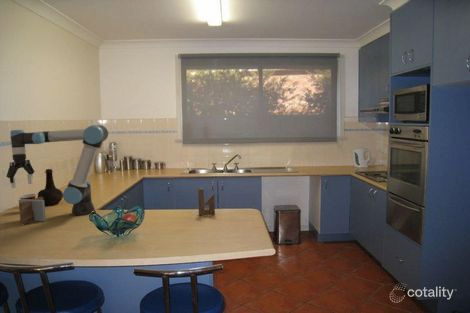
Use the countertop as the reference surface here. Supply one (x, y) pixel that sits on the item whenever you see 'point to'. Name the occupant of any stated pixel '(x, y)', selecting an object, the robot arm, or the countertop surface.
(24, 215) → the walnut board
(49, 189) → the dark brown vase
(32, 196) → the plastic cup
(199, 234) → the countertop surface
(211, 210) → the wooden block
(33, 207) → the notched grey panel
